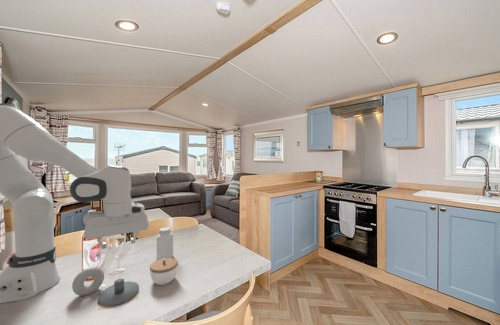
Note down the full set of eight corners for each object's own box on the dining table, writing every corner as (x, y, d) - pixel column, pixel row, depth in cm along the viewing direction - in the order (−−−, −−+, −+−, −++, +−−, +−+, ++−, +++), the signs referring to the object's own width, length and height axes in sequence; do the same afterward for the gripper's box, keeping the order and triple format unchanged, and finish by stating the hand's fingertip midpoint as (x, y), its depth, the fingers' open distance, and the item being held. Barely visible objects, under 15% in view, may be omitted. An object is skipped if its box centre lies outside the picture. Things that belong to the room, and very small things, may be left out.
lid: (96, 311, 72) (96, 296, 72) (100, 290, 83) (99, 277, 83) (139, 298, 79) (139, 284, 78) (137, 280, 90) (137, 268, 90)
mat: (98, 311, 73) (98, 309, 73) (101, 291, 83) (101, 290, 83) (138, 299, 79) (138, 297, 79) (136, 282, 89) (136, 281, 89)
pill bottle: (162, 262, 106) (161, 232, 106) (153, 257, 111) (153, 229, 111) (176, 256, 112) (176, 228, 112) (167, 252, 117) (167, 225, 117)
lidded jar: (144, 286, 86) (143, 263, 86) (162, 273, 97) (162, 252, 96) (166, 292, 83) (166, 268, 83) (182, 277, 93) (182, 255, 93)
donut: (102, 286, 87) (102, 261, 86) (105, 289, 85) (105, 264, 84) (71, 298, 79) (70, 272, 79) (73, 302, 77) (73, 275, 77)
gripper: (81, 214, 72) (82, 255, 72) (148, 207, 82) (149, 242, 83) (84, 210, 77) (85, 248, 78) (147, 204, 88) (147, 237, 88)
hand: (118, 245), depth 80 cm, fingers open, 8 cm apart
